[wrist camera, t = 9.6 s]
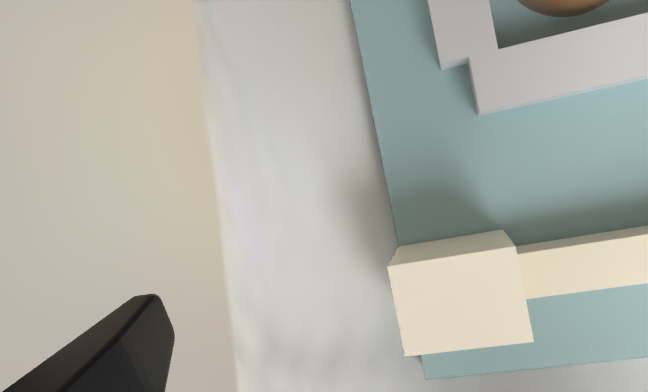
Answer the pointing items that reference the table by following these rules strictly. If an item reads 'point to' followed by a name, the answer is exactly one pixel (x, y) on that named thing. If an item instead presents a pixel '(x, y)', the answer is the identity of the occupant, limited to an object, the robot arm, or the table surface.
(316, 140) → the table surface
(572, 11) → the jaw post
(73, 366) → the robot arm
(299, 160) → the table surface
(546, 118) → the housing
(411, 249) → the cream block
